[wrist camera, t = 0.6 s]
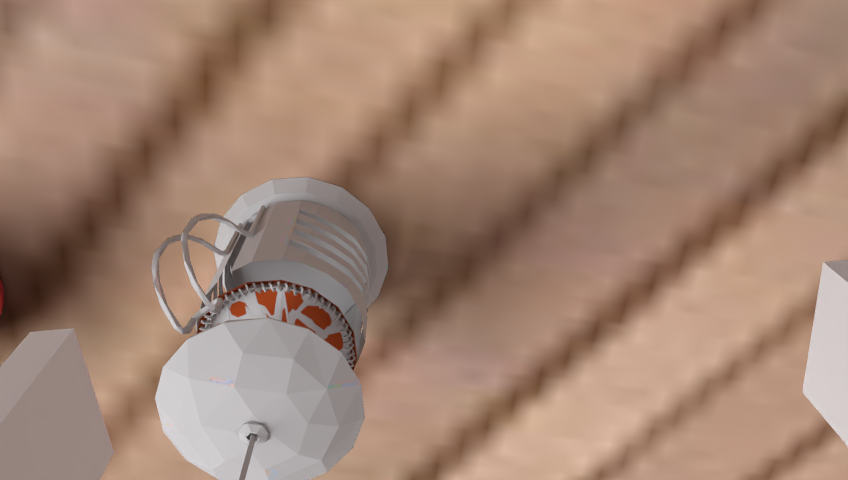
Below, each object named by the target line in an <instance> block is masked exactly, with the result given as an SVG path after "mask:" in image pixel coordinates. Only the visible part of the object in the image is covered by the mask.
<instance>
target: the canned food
mask: <svg viewBox="0 0 848 480" xmlns="http://www.w3.org/2000/svg"><path fill="white" fill-rule="evenodd" d="M3 306H4V289H3V284H2V281H1V278H0V316H1V312H2V309H3Z"/></svg>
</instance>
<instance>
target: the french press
mask: <svg viewBox="0 0 848 480" xmlns="http://www.w3.org/2000/svg"><path fill="white" fill-rule="evenodd" d="M206 219H213V220H216V221H219V222H220V225H219V229H218V233H217V237H216V241H215V245H214V246H213V245H211V244H210V243H208V242H206V241H205V240H203V239H201V238H197V237H194V236H191V235H188V234H189V232H190V231H191V229H192V228H193V227H194V226H195V224H196V223H197V222H198V221H201V220H206ZM187 239H189V240H192V241H195V242H197V243H200V244H202V245H204V246H205V247H207V248H209V249H210V250H212V251H213V252H214V255H215V260H216V265H217V272H216V274H215V276H214V278H213V280H212V282H211V284H210V286H209V288H208V290H207V292H206V294H205V293H204V292H203V290H202V289H201V287H200V285H199V284H198V282H197V280H196V277H195V274H194V271H193V268H192V265H191V262H190V257H189V251H188V244H187ZM179 240H181V242H182V249H183V257H184V265H185V268H186V271H187V273H188V276H189V279H190V282H191V284H192V286H193V287H194V289H195V290H196V292H197V293H198V295H199V296H200V298H201V299H202V304H201V307H200V310H199V311H198V312H197V313H196V314H195V315H194V316H193V317H192V318H191V319H190V321H189V322H188V323H187V325H186V326H185V328H182V326H181V325H180V324H179V322H178V321H177V319H176V318H175V316H174V315H173V313H172V312H171V310H170V309H169V307H168V305H167V302H166V299H165V296H164V293H163V290H162V287H161V284H160V278H159V257H160V256H161V254H162V253H163V251H164V250H165V248H166V247H167V245H168V244H170V243H173V242H175V241H179ZM151 266H152V275H153V283H154V287H155V290H156V293H157V296H158V299H159V302H160V305H161V308H162V309H163V311H164V312H165V314H166V316H167V317H168V319H169V321H170V322H171V324H172V326H173V327H174V329H175V330H177V331H178V332H180V333H182V334H188V333H191V331H192V329H193V327H194V325H195V323H196V330H197V334H195V335H193V336H191V337H190V338H189V339H187V340H186V342H185V343H184V344H183V345H182V346H181V347H180V348H179V350H178V351H177V352H176V353H175V354H174V355H173V356H172V358H171V359H170V360H169V361H168V362H167V363H166V364H165V366H164V367H163V370H162V374H161V378H160V382H159V385H158V389H157V393H156V397H155V400H156V404H157V408H158V412H159V416H160V420H161V424H162V428H163V432H164V433H165V434H166V435H167V437H168V438H169V439H170V440H171V442H172V443H173V444H174V445H175V447H176V448H177V449H178V450H179V452H180V453H181V454H182V456H183V457H184V458H185V459H186V460H187V461H189V462H191V463H192V464H194V465H195V466H197V467H199V468H200V469H202V470H204V471H205V472H207V473H209V474H210V475H212V476H214V477H215V478H217V479H219V480H309V479H312V478H314V477H317V476H319V475H321V474H324V473H326V472H328V471H329V470H330V469H331V468H332V467H333V466H334V465H335V464H336V463H337V462H338V461H340V460H341V459H342V458H343V457H344V456H345V455H346V454H347V453H348V452H349V451H350V450H351V449H352V448H353V446H354V443H355V441H356V438H357V436H358V433H359V431H360V428H361V426H362V423H363V421H364V418H365V417H364V407H363V396H362V386H361V383H360V382H359V380H358V378H357V377H356V375H355V373H354V372H353V370H354V367H355V365H356V363H357V362H358V359H359V357H360V354H361V351H362V349H363V346H364V344H365V337H366V326H367V310H368V307H369V306H370V305H371V304H372V303H373V302H374V301H375V300H376V299H377V297H378V296H379V294H380V291H381V288H382V285H383V282H384V280H385V277H386V274H387V271H388V257H387V246H386V237H385V235H384V233H383V232H382V230H381V228H380V226H379V225H378V223H377V221H376V219H375V218H374V216H373V214H372V212H371V210H370V209H369V208H368V207H367V206H365V205H364V204H363V203H361V202H360V201H359V200H358V199H356V198H355V197H354V196H353V195H351V194H350V193H349V192H347V191H346V190H345V189H344V188H342V187H339V186H336V185H333V184H329V183H326V182H323V181H320V180H316V179H313V178H310V177H300V178H286V179H272V180H270V181H268V182H266V183H264V184H262V185H260V186H258V187H256V188H254V189H252V190H250V191H248V192H246V193H244V194H242V195H241V196H240V197H239V198H238V200H237V201H236V202H235V203H234V204H233V206H232V207H231V208H230V209H229V210H228V212H227V213H226V214H225V215H224V216H223V217H222V216H220V215H217V214H200V215H197V216H195V217H193V218H191V219H190V221H189V223H188V224H187V226H186V227H185V229H184V231H183V233H182V235H176V236H172V237H170V238H167V239H166V240H165V241H164V243H163V244H162V245H161V246H160V247H159V248H158V249H157V250H156V251H155V252H154V256H153V261H152V265H151ZM218 280H219V296H218V298H217V282H218ZM222 285H223V286H224V288H225V289H226V293H223V290H222ZM213 290H214V300H213V301H212V302H211V294H212V292H213ZM362 325H363V330H362V333H361V328H362ZM360 336H361V337H360Z"/></svg>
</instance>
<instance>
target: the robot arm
mask: <svg viewBox="0 0 848 480" xmlns="http://www.w3.org/2000/svg"><path fill="white" fill-rule="evenodd" d="M803 393H804V395H805V396H806V397H807V398H808V399H809V401H810V402H811V403H812V404H813V405H814V407H815V408H816V409H817V410H818V411H819V412H820V414H821V415H822V416H823V417H824V418H825V420H826V421H827V422H828V423H829V424H830V426H831V427H832V428H833V429H834V430H835V432H836V433H837V434H838V435H839V436H840V438H841V439H842V440H843V441H844V442H845V444H846V445H847V446H848V260H841V261H829V262H823V266H822V272H821V279H820V285H819V291H818V297H817V304H816V310H815V316H814V323H813V329H812V335H811V341H810V348H809V354H808V360H807V367H806V373H805V379H804V385H803ZM113 453H114V451H113V448H112V444H111V441H110V438H109V435H108V432H107V429H106V426H105V423H104V420H103V417H102V414H101V410H100V407H99V404H98V401H97V398H96V395H95V392H94V389H93V386H92V383H91V380H90V376H89V373H88V370H87V367H86V364H85V361H84V358H83V355H82V352H81V349H80V346H79V342H78V339H77V336H76V333H75V330H74V328H69V329H58V330H46V331H35V332H30V333H29V334H28V335H27V336H26V337H25V339H24V340H23V341H22V342H21V343H20V344H19V346H18V347H17V348H16V349H15V350H14V351H13V353H12V354H11V355H10V356H9V357H8V358H7V359H6V361H5V362H4V363H3V364H2V365H1V366H0V480H100V479H101V477H102V475H103V473H104V471H105V469H106V467H107V465H108V463H109V461H110V459H111V457H112V455H113Z"/></svg>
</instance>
